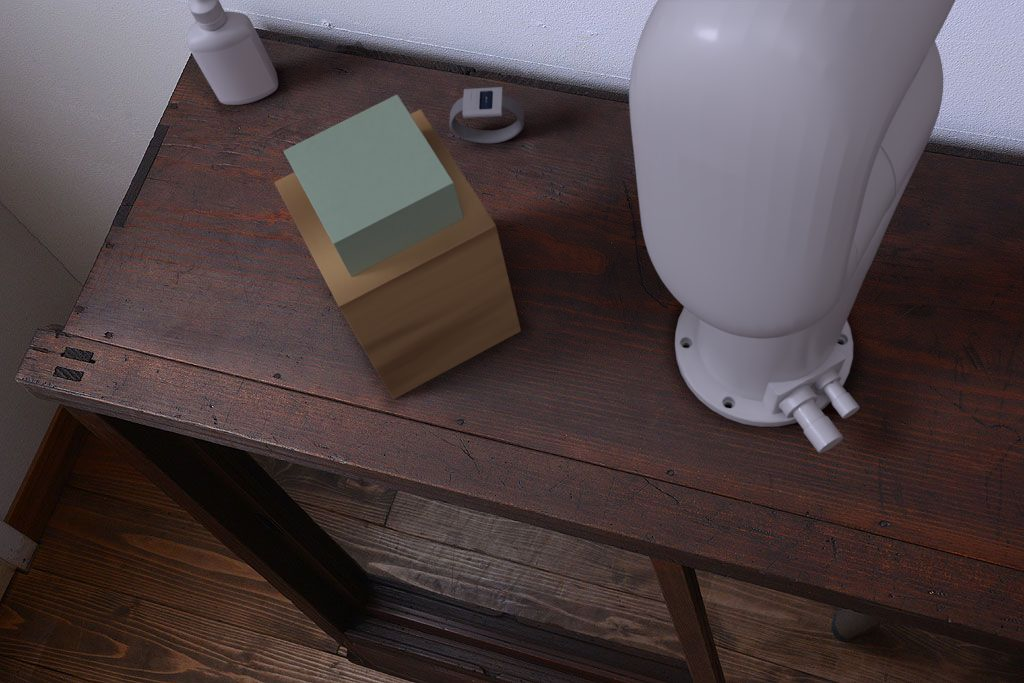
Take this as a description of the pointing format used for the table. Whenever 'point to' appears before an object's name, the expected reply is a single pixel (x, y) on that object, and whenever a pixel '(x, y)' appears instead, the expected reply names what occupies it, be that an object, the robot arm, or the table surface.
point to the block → (375, 184)
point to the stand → (419, 287)
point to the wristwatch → (485, 115)
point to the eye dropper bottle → (230, 54)
